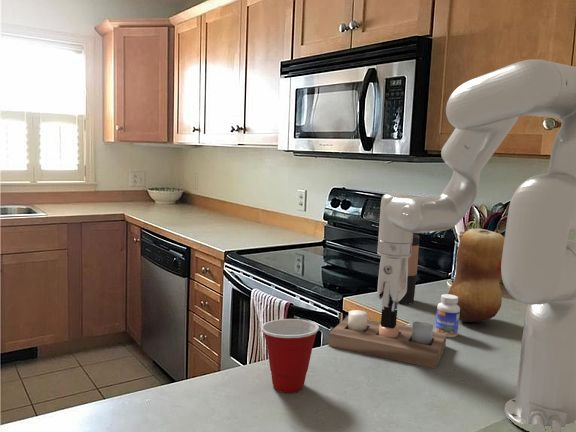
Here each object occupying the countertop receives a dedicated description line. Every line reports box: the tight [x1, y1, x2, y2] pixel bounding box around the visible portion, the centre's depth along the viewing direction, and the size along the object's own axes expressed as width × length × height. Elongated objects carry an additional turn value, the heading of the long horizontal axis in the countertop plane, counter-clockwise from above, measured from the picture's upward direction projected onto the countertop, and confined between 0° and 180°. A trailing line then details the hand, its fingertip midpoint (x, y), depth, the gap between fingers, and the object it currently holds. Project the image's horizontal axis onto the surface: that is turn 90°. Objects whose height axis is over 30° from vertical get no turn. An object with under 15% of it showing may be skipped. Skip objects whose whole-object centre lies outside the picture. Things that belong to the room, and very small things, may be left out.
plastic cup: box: [260, 318, 320, 394], centre depth 97 cm, size 11×11×12 cm
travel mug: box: [398, 233, 420, 305], centre depth 154 cm, size 8×8×20 cm
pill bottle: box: [434, 293, 460, 338], centre depth 128 cm, size 5×5×10 cm
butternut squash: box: [447, 227, 505, 324], centre depth 138 cm, size 14×13×25 cm
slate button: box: [411, 321, 434, 345], centre depth 116 cm, size 4×4×4 cm
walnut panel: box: [328, 315, 447, 369], centre depth 119 cm, size 14×24×3 cm, turn 65°
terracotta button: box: [379, 324, 399, 339], centre depth 119 cm, size 4×4×4 cm
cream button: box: [348, 309, 368, 332], centre depth 122 cm, size 4×4×4 cm
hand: (388, 326), depth 119 cm, fingers closed
